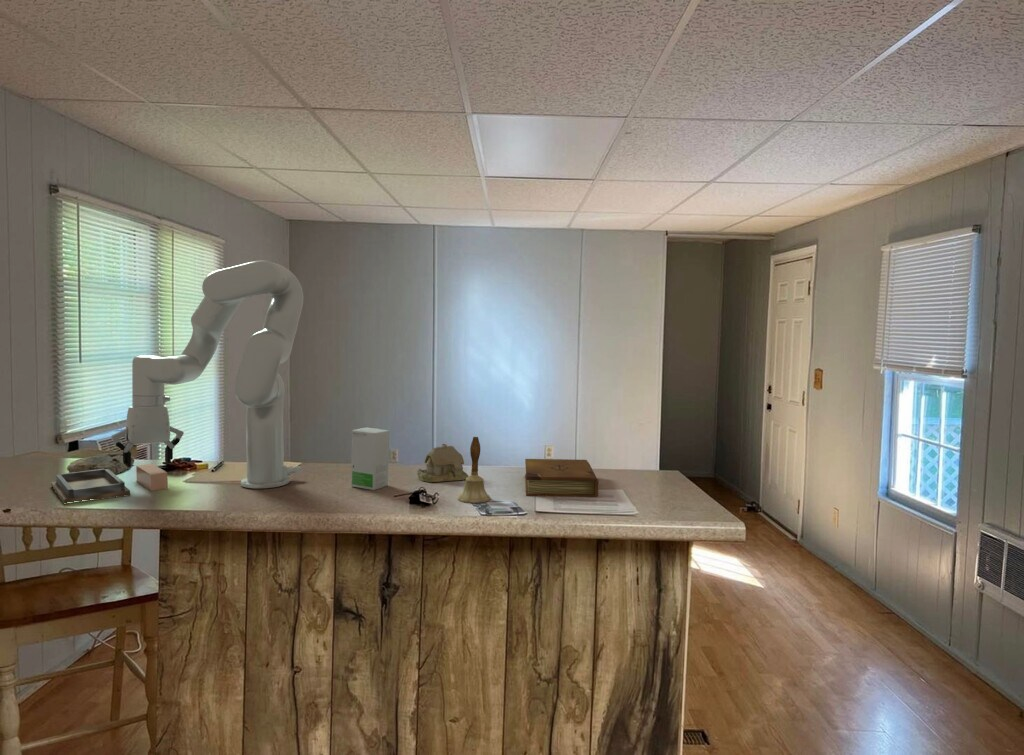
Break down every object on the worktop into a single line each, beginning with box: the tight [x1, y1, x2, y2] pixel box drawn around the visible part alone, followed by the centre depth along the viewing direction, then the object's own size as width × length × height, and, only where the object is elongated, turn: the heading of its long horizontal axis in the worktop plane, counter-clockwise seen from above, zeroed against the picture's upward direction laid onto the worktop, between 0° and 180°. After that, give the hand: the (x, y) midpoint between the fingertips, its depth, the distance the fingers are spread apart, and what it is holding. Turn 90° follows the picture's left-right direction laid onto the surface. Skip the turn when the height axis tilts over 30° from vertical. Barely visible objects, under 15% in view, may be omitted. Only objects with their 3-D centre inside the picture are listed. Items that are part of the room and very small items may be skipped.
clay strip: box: [135, 463, 169, 491], centre depth 179 cm, size 4×14×4 cm, turn 43°
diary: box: [524, 458, 599, 498], centre depth 184 cm, size 23×19×6 cm
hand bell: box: [457, 436, 491, 504], centre depth 168 cm, size 8×8×16 cm
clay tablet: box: [66, 451, 135, 475], centre depth 196 cm, size 14×5×20 cm
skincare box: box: [350, 426, 390, 491], centre depth 180 cm, size 8×7×16 cm
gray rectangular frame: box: [50, 469, 131, 504], centre depth 172 cm, size 14×22×3 cm, turn 41°
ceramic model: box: [416, 443, 470, 483], centre depth 191 cm, size 14×11×10 cm
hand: (148, 464), depth 179 cm, fingers open, 9 cm apart
